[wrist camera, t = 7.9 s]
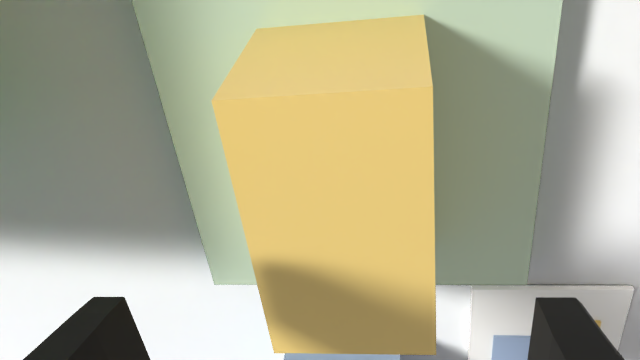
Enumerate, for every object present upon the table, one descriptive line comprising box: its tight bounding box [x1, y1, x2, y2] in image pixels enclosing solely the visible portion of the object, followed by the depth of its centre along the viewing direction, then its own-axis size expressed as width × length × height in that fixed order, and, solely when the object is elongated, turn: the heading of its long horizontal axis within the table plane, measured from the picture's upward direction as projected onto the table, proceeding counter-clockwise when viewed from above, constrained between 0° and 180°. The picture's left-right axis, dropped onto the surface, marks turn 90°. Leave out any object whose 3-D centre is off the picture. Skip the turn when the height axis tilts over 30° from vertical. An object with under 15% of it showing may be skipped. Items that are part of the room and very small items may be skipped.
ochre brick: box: [211, 15, 436, 355], centre depth 13 cm, size 7×4×4 cm, turn 7°
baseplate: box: [132, 0, 563, 285], centre depth 16 cm, size 10×10×1 cm
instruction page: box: [468, 285, 634, 360], centre depth 20 cm, size 6×5×1 cm
